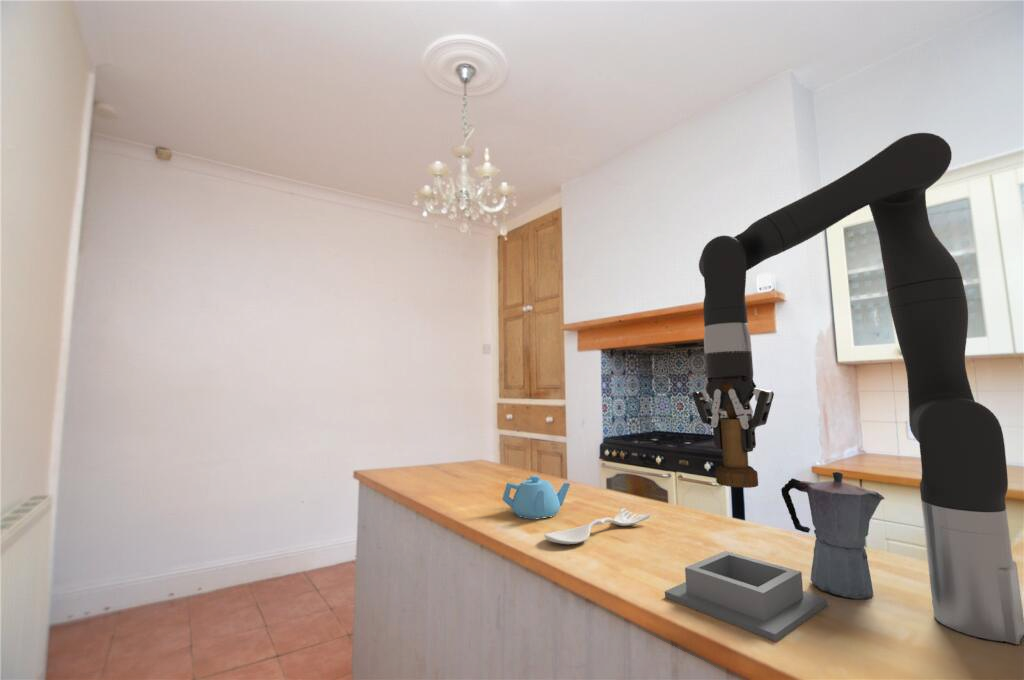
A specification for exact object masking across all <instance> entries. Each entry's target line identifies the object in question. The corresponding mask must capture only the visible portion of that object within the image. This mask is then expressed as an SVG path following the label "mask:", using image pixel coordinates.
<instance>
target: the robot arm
mask: <svg viewBox="0 0 1024 680" xmlns="http://www.w3.org/2000/svg"><path fill="white" fill-rule="evenodd" d="M952 155H953V153H952V149H951V147H950V144H949V142H947V141H946V140H945V139H944V138H943V137H942V136H940V135H938V134H935V133H930V132H915V133H910V134H907V135H904V136H902V137H899V138H898V139H896V140H895V141H893V142H891V143H890V144H889V145H887V146H886V147H885V148H884V149H882V150H881V151H879V152H878V153H876V154H875V155H874V156H872V157H871V158H869V159H867V161H865V162H864V163H862V164H860V165H859V166H857V167H856V168H853V170H851V171H849V172H847V173H845V174H844V175H842V176H841V177H839V178H837V179H835V180H834V181H832V182H830V183H828V184H827V185H824V186H823V187H821V188H818V189H816V190H815V191H813V192H811V193H808V194H807V195H805V196H803V197H801V198H799V199H796V200H795V201H794V202H790V203H789V204H787V205H785V206H783V207H781V208H779V209H777V210H775V211H773V212H771V213H769V214H767V215H765V216H763V217H761V218H759V219H757V220H755V221H754V222H753V223H751V224H750V225H749V226H748V227H747V228H746V229H745V230H744V231H742V232H741V233H739V234H737V235H735V236H731V235H719V236H716V237H714V238H712V239H710V240H709V241H708V242H707V243H706V245H704V248H703V250H702V252H701V256H700V258H699V261H698V268H699V273H700V275H701V276H702V277H703V280H704V281H703V282H704V283H703V284H704V294H705V295H704V299H703V308H702V309H703V321H704V322H703V323H704V333H703V334H704V335H703V346H704V347H703V351H704V360H705V361H704V363H705V376H706V379H707V383H706V386H705V388H704V389H702V390H699V391H694V392H692V393H691V394H692V399H693V401H694V404H695V407H696V410H697V412H698V414H699V417H700V419H701V423H703V424H707V425H709V426H711V427H712V429H713V430H712V431H713V443H714V446H716V448H717V450H720V451H721V450H722V434H721V421H720V418H727V416H728V415H727V412H726V405H730V407H731V409H735V412H736V415H737V418H739V420H740V423H741V426H742V428H743V429H741V435H742V448H743V451H744V452H748V453H750V452H751V453H752V452H753V451H754V449H755V448H756V446H757V444H756V443H757V442H756V428H758V427H760V426H765V425H766V424H767V421H768V418H769V413H770V410H771V407H772V403H773V400H774V395H775V393H774V392H773V391H772V390H764V389H761V388H758V387H757V385H756V383H755V381H754V366H753V365H754V364H753V354H752V353H753V352H752V341H751V339H752V338H751V333H750V329H749V324H748V323H749V321H748V319H749V318H748V309H747V301H746V286H747V285H746V284H747V283H746V282H747V271H748V270H750V269H752V268H754V267H756V266H758V265H759V264H761V263H762V262H764V261H765V260H768V259H770V258H772V257H775V256H777V255H779V254H781V253H783V252H784V253H785V252H786V251H788V250H790V249H792V248H794V247H796V246H798V245H800V244H803V243H804V242H806V241H808V240H810V239H812V238H814V237H815V236H817V235H819V234H820V233H823V232H824V231H826V230H827V229H829V228H831V227H832V226H833V225H835V224H837V223H838V222H840V221H841V220H843V219H845V218H847V217H848V216H851V215H852V214H853V213H855V212H857V211H859V210H862V209H863V208H865V207H867V206H869V209H870V212H871V213H870V214H871V216H872V219H873V222H874V224H875V228H876V232H877V235H878V240H879V248H880V255H881V260H882V265H883V270H884V271H883V272H884V278H885V284H886V292H887V298H888V303H889V309H890V314H891V317H892V322H893V326H894V331H895V334H896V338H897V342H898V347H899V348H900V349H899V350H900V352H901V355H902V356H901V357H902V358H903V361H904V365H905V371H906V378H907V393H908V421H909V429H910V431H911V434H912V435H913V437H914V439H915V440H916V441H917V442H918V444H919V452H920V461H921V463H920V464H921V481H920V482H919V491H920V493H919V494H920V499H921V508H922V518H923V529H924V537H925V546H926V554H927V556H926V557H927V565H928V573H929V574H928V575H929V584H930V593H931V604H932V610H933V616H934V619H936V621H937V622H939V623H941V625H944V626H946V627H947V628H949V629H952V630H954V631H957V632H959V633H962V634H965V635H968V636H973V637H976V638H980V639H985V640H990V641H998V642H1004V641H1005V643H1009V642H1010V643H1011V644H1014V645H1017V644H1019V643H1021V642H1022V640H1021V639H1023V638H1024V610H1023V602H1022V593H1021V589H1020V580H1019V572H1018V564H1017V562H1016V561H1014V559H1013V553H1012V544H1011V538H1010V537H1011V536H1010V530H1009V529H1010V528H1009V521H1008V513H1007V507H1006V505H1007V504H1006V495H1007V492H1008V488H1009V480H1008V469H1007V457H1006V447H1005V439H1004V433H1003V429H1002V425H1001V424H1000V421H999V419H998V418H997V416H996V415H995V414H994V412H992V411H991V410H990V409H989V408H988V407H986V406H984V405H983V404H981V403H980V402H977V401H975V398H974V395H973V392H972V388H971V385H970V381H969V377H968V373H967V370H966V369H967V367H966V347H967V338H968V328H969V309H968V308H969V307H968V299H967V295H966V290H965V285H964V281H963V277H962V276H963V275H962V272H961V269H960V267H959V265H958V262H957V261H956V260H955V258H954V257H953V255H952V254H951V253H950V252H949V251H948V249H947V248H946V247H945V245H944V244H943V243H942V242H941V241H940V240H939V238H938V237H937V236H936V233H934V231H933V229H932V226H931V224H930V219H929V215H928V213H929V212H928V209H927V200H926V191H927V190H928V189H929V188H930V187H932V186H933V185H934V184H935V183H937V182H938V181H939V180H940V179H941V178H942V177H943V176H944V175H945V173H946V172H947V170H948V168H949V166H950V165H951V161H952ZM723 381H730V382H731V383H732V386H733V387H732V389H730V390H729V391H728V393H725V392H724V391H723V390H722V389H721V384H722V382H723ZM753 397H755V398H754V399H755V401H756V405H755V408H754V410H753V407H752V405H751V400H752V398H753ZM710 399H711V400H712V401H713V402H712V407H711V404H710V402H709V400H710ZM1020 641H1021V642H1020ZM1019 645H1020V644H1019Z"/></svg>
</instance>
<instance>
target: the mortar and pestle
mask: <svg viewBox="0 0 1024 680" xmlns="http://www.w3.org/2000/svg"><path fill="white" fill-rule="evenodd" d="M732 387H733V386H732V383H731V382H730V381H723V382H722V384H721V389H722V390H723V391H724V392H725V393H728V391H729V390H730V389H732ZM726 412H727V415H726V416H727V417H726V418H720V421H721V434H722V464H720V465H719V466H718V467H717V468H716V469H715V481H716V484H717V485H721V486H725V487H730V488H745V489H748V488H749V489H751V488H756V487H758V486H759V476H758V471H757V470H755V469H754V467H753V466H751V465H749V456H748V455H749V452H744V451H743V448H742V435H741V429H743V428H742V426H741V423H740V420H739V417H738V416H737V415H736V412H735V409H731V407H730V405H726Z"/></svg>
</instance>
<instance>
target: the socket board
mask: <svg viewBox="0 0 1024 680" xmlns="http://www.w3.org/2000/svg"><path fill="white" fill-rule="evenodd" d="M684 573H685V574H684V575H685V582H682V583H681V584H677V585H675V586H674V587H670V588H669V589H667V590H666V589H665V591H664V598H665V599H668V600H671V601H673V602H675V603H678V604H680V605H683V606H686V607H688V608H691V609H693V610H695V611H698V612H700V613H702V614H703V613H704V614H705V615H708V616H710V617H713V618H716V619H718V620H721V621H723V622H725V623H728V624H730V625H732V626H735V627H738V628H741V629H743V630H746V631H748V632H751V633H753V634H755V635H757V636H760V637H763V638H766V639H768V640H771V641H772V642H778V641H779V640H780V639H782V638H784V636H786V635H787V634H789V633H791V632H792V631H793V630H794V629H796V628H797V627H799V626H800V625H801V624H803V623H804V622H806V621H807V620H808V619H810V618H811V617H812V616H814V615H815V614H817V613H818V612H819V611H821V610H822V609H824V608H825V607H827V606H828V598H827V597H825V596H820V595H817V594H814V593H811V592H808V591H804V589H803V577H802V576H803V575H802V571H801V570H797V569H794V568H788V567H786V566H782V565H779V564H775V563H771V562H767V561H764V560H760V559H756V558H754V557H750V556H745V555H742V554H738V553H734V552H731V551H727V550H724V551H721V552H719V553H717V554H714V555H711V556H709V557H707V558H705V559H703V560H700V561H698V562H695V563H693V564H689V565H687V566H686V567H684Z"/></svg>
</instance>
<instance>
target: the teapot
mask: <svg viewBox="0 0 1024 680" xmlns="http://www.w3.org/2000/svg"><path fill="white" fill-rule="evenodd" d="M540 478H541V476H540V475H531V476H530V477H526V479H527V480H526V479H525V480H523V481H521V482H520V484H518V483H512V482H511V483H510V482H506V485H505V489H504V491H503V495H502V501H503V502H504V503H506V504H507V505H508V507H510V508H511V509H512V511H513V513H514V514H515V515H516V516H517V515H518V516H521V517H526V518H543V517H550V516H553V515H555V514H556V515H558V513H559V511H560V509H561V507H562V506H563V504H564V501H565V499H566V496H567V493H568V491H569V488H570V485H571V483H570V482H563V484H562V485H561V487H560V488H559V490H558V492H556V490H555V488H554V487H553V485H552V483H551V482H550V481H548V480H546V479H545V480H544V479H540ZM511 489H512V490H513V489H514V490H515V493H514V494H513V498H512V497H510V495H511V491H512V490H511ZM556 515H555V516H556ZM518 516H517V517H518ZM521 517H520V518H521Z"/></svg>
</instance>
